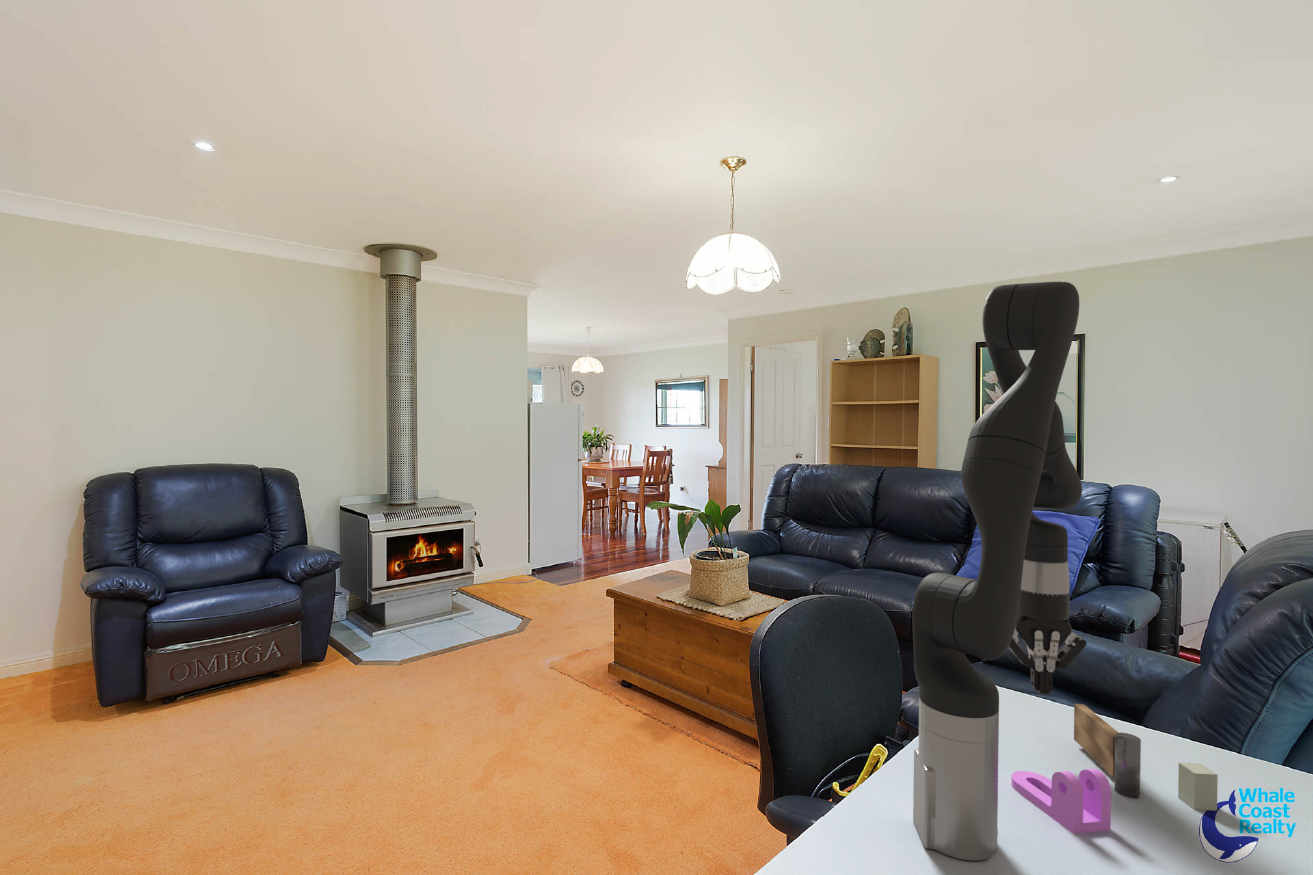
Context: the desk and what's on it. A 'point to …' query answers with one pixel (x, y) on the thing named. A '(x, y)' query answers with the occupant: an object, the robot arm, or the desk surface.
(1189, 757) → the desk surface
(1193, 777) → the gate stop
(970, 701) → the robot arm
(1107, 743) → the gate
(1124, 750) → the hinge post
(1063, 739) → the desk surface
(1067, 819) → the bracket
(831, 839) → the desk surface
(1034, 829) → the desk surface
